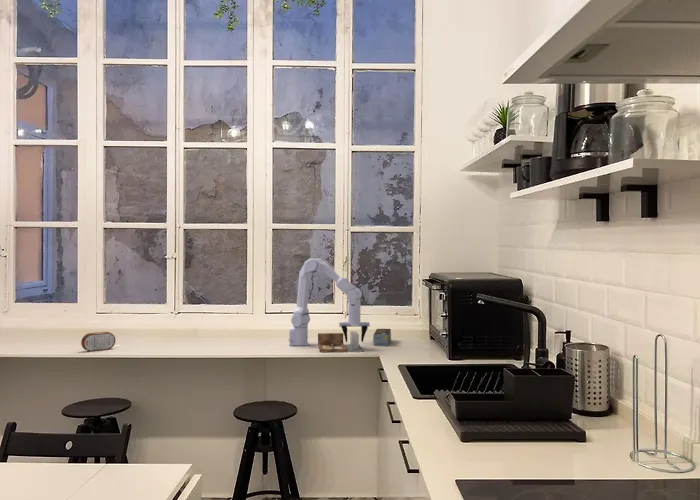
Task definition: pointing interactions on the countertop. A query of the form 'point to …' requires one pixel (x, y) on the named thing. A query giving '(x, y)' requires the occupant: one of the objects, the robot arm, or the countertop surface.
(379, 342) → the beverage carton
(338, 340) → the rack
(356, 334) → the shiny grey metal block
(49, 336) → the countertop surface
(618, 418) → the countertop surface
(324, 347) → the offcut top
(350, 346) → the mat
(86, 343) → the tin
